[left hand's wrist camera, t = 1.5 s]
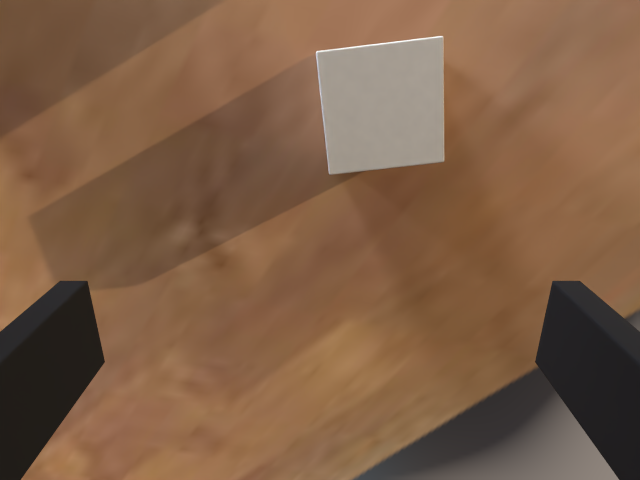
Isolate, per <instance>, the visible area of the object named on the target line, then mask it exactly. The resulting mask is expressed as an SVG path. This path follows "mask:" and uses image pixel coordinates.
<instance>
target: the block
mask: <svg viewBox="0 0 640 480" xmlns="http://www.w3.org/2000/svg"><path fill="white" fill-rule="evenodd" d="M316 58H317V68H318V77H319V86H320V96H321V105H322V114H323V124H324V133H325V142H326V152H327V160H328V169H329V174H330V175H334V174H343V173H352V172H361V171H370V170H378V169H387V168H396V167H405V166H414V165H423V164H432V163H440V162H444V60H443V36H438V37H430V38H422V39H414V40H405V41H397V42H389V43H381V44H373V45H365V46H356V47H348V48H340V49H332V50H324V51H317V52H316Z"/></svg>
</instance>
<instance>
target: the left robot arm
mask: <svg viewBox="0 0 640 480" xmlns="http://www.w3.org/2000/svg"><path fill="white" fill-rule="evenodd" d="M104 362H105V361H104V356H103V351H102V347H101V342H100V337H99V333H98V328H97V323H96V319H95V314H94V309H93V305H92V300H91V295H90V291H89V286H88V281H60V282H59V283H57V284H56V285H55V286H54V287H53V288H51V289H50V290H49V291H48V292H47V293H46V294H44V295H43V296H42V297H41V298H40V299H38V300H37V301H36V302H35V303H34V304H33V305H31V306H30V307H29V308H28V309H27V310H25V311H24V312H23V313H22V314H21V315H20V316H18V317H17V318H16V319H15V320H14V321H12V322H11V323H10V324H9V325H8V326H7V327H5V328H4V329H3V330H2V331H1V332H0V480H21V478H22V477H23V476H24V474H25V473H26V471H27V470H28V469H29V467H30V466H31V464H32V463H33V462H34V460H35V459H36V457H37V456H38V455H39V453H40V452H41V450H42V449H43V448H44V446H45V445H46V443H47V442H48V441H49V439H50V438H51V436H52V435H53V434H54V432H55V431H56V429H57V428H58V427H59V425H60V424H61V422H62V421H63V420H64V418H65V417H66V415H67V414H68V413H69V411H70V410H71V408H72V407H73V406H74V404H75V403H76V401H77V400H78V399H79V397H80V396H81V394H82V393H83V392H84V390H85V389H86V387H87V386H88V385H89V383H90V382H91V380H92V379H93V378H94V376H95V375H96V374H97V372H98V371H99V369H100V368H101V367H102V365H103V364H104ZM535 362H536V364H537V365H538V367H539V368H540V369H541V371H542V372H543V373H544V375H545V376H546V378H547V379H548V380H549V382H550V383H551V385H552V386H553V387H554V389H555V390H556V392H557V393H558V394H559V396H560V397H561V399H562V400H563V401H564V403H565V404H566V406H567V407H568V408H569V410H570V411H571V413H572V414H573V415H574V417H575V418H576V420H577V421H578V422H579V424H580V425H581V427H582V428H583V429H584V431H585V432H586V434H587V435H588V436H589V438H590V439H591V441H592V442H593V443H594V445H595V446H596V448H597V449H598V450H599V452H600V453H601V455H602V456H603V457H604V459H605V460H606V462H607V463H608V464H609V466H610V467H611V469H612V470H613V471H614V473H615V474H616V476H617V477H618V478H619V480H640V332H639V331H638V330H637V329H636V328H635V327H633V326H632V325H631V324H630V323H629V322H627V321H626V320H625V319H624V318H623V317H622V316H620V315H619V314H618V313H617V312H616V311H615V310H613V309H612V308H611V307H610V306H609V305H607V304H606V303H605V302H604V301H603V300H602V299H600V298H599V297H598V296H597V295H596V294H594V293H593V292H592V291H591V290H590V289H589V288H587V287H586V286H585V285H584V284H583V283H581V282H580V281H552V286H551V291H550V295H549V300H548V305H547V309H546V314H545V319H544V323H543V328H542V333H541V337H540V342H539V347H538V351H537V356H536V361H535Z"/></svg>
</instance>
